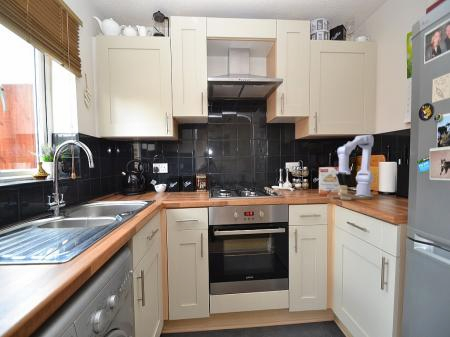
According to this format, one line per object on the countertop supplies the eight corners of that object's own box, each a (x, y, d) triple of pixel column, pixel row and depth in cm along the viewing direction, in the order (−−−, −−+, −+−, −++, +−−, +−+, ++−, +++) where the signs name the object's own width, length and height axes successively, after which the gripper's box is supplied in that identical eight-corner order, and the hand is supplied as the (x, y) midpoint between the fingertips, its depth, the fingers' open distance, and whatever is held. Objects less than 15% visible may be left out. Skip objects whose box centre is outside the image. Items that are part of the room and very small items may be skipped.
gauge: (335, 197, 152) (335, 185, 151) (344, 197, 151) (344, 185, 151) (341, 199, 142) (341, 186, 142) (351, 199, 142) (351, 186, 142)
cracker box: (320, 194, 168) (320, 167, 168) (318, 193, 174) (318, 167, 173) (339, 194, 165) (340, 167, 164) (337, 193, 171) (338, 167, 170)
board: (327, 196, 157) (327, 194, 157) (362, 196, 155) (362, 194, 155) (333, 199, 145) (333, 197, 145) (371, 199, 143) (372, 197, 143)
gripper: (333, 164, 154) (332, 183, 154) (342, 164, 140) (342, 185, 140) (343, 164, 154) (343, 183, 154) (353, 164, 139) (353, 185, 139)
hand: (343, 184), depth 147 cm, fingers open, 7 cm apart
